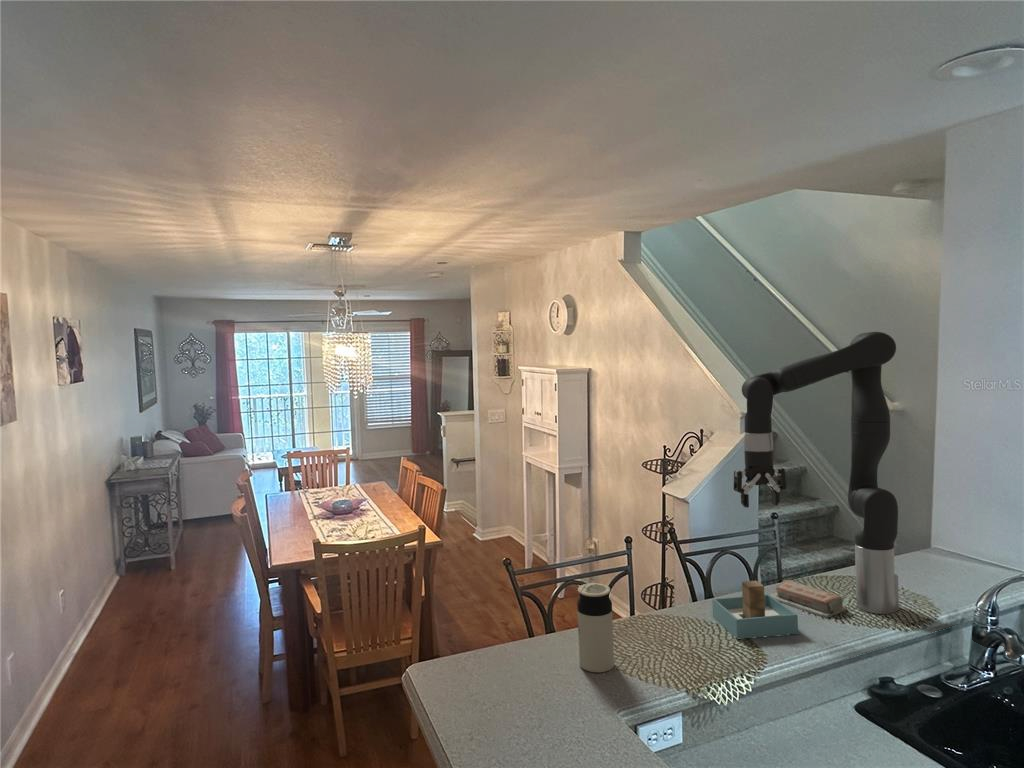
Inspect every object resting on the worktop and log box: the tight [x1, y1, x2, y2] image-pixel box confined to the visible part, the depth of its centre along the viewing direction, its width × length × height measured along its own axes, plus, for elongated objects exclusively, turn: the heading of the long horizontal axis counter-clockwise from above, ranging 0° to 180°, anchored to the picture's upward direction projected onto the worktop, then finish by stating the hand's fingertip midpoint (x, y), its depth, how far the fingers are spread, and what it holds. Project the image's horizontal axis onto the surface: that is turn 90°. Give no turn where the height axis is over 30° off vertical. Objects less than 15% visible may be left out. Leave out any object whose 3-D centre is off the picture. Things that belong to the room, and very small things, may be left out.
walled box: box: [712, 593, 799, 640], centre depth 159 cm, size 16×14×5 cm
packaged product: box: [769, 579, 847, 619], centre depth 172 cm, size 18×5×10 cm
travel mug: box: [576, 582, 615, 673], centre depth 142 cm, size 8×8×18 cm
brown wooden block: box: [741, 580, 765, 618], centre depth 159 cm, size 4×4×11 cm
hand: (760, 505), depth 171 cm, fingers open, 8 cm apart
